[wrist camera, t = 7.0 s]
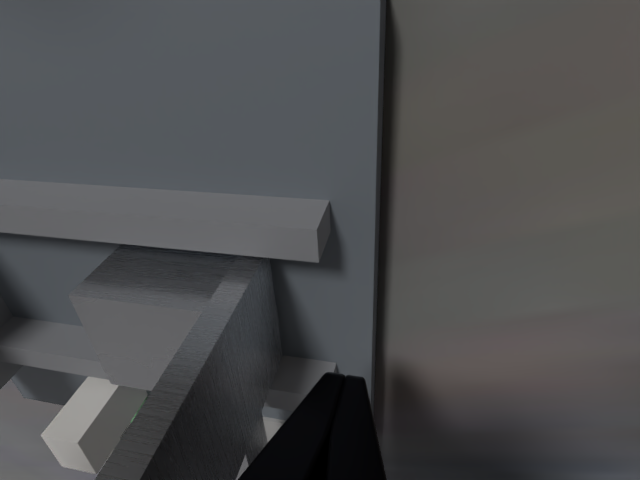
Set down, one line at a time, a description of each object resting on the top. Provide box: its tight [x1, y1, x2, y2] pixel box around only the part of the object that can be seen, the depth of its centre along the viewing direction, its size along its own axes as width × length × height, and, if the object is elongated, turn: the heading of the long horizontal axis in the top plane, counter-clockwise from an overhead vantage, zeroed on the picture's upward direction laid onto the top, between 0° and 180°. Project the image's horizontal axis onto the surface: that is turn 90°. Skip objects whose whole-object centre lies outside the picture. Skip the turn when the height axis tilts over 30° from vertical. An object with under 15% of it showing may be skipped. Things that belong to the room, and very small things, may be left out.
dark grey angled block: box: [68, 244, 283, 480], centre depth 10 cm, size 4×6×6 cm, turn 3°
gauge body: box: [0, 0, 386, 442], centre depth 10 cm, size 14×14×7 cm
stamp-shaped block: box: [41, 376, 148, 474], centre depth 14 cm, size 1×4×3 cm, turn 2°
